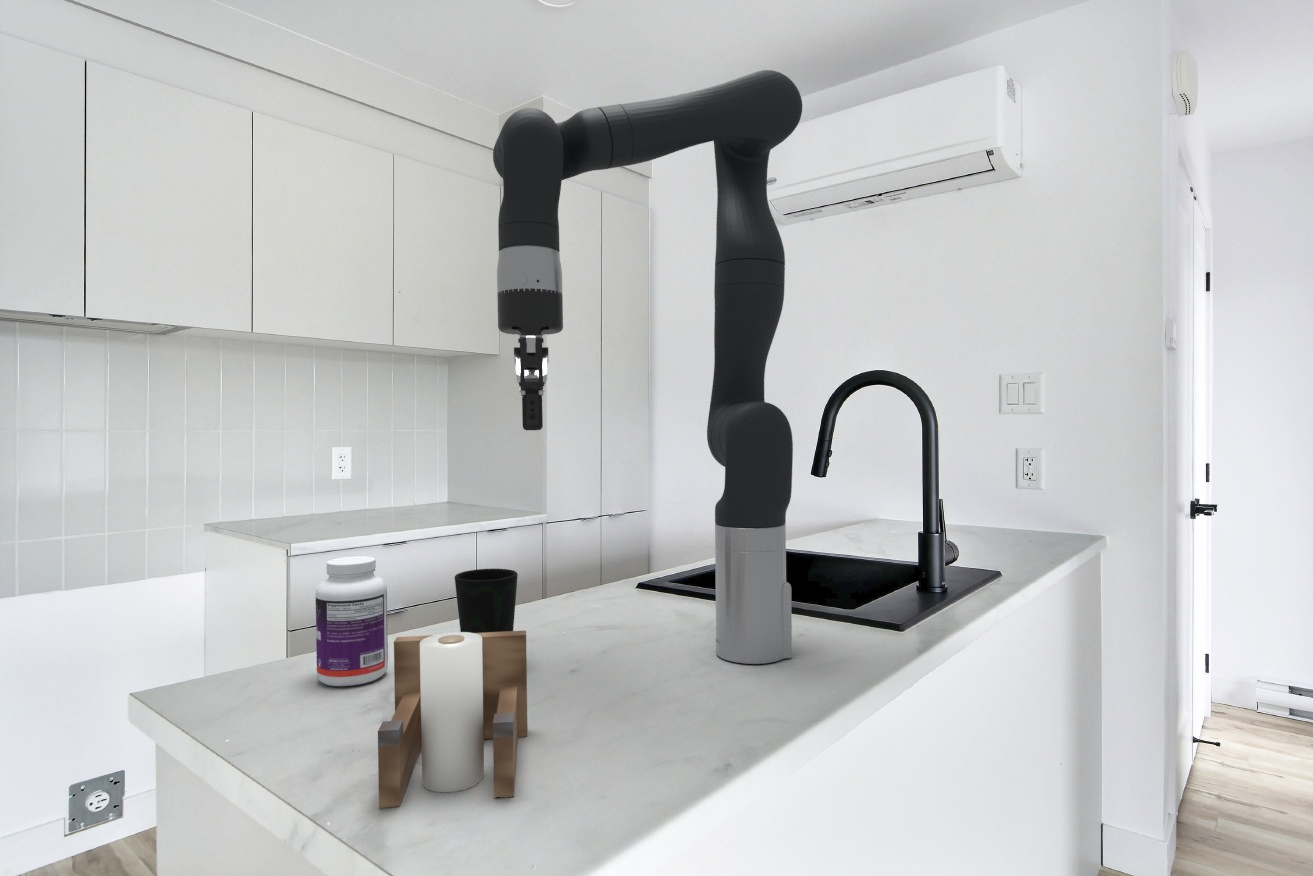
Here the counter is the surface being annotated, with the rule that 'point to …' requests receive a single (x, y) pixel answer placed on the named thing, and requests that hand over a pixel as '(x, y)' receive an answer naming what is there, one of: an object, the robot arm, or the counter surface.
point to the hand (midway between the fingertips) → (532, 430)
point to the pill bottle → (351, 623)
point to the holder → (499, 713)
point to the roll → (451, 711)
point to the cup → (486, 600)
